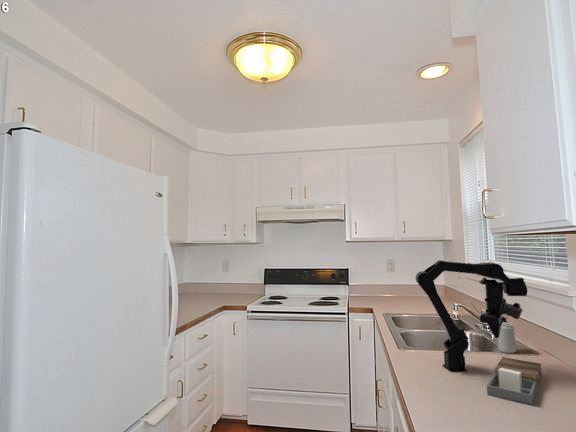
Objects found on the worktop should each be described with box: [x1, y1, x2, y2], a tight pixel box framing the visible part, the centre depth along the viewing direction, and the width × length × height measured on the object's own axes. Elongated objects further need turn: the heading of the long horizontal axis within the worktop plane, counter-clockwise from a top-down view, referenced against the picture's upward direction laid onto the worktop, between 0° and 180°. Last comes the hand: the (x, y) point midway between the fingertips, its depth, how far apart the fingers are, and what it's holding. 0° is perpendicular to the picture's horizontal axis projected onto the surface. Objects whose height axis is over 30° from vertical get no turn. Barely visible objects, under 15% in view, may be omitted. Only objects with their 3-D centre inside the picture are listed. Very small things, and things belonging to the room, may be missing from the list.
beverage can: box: [497, 321, 517, 354], centre depth 153 cm, size 6×6×12 cm
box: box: [486, 373, 537, 406], centre depth 115 cm, size 12×12×3 cm
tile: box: [498, 368, 522, 392], centre depth 116 cm, size 6×6×2 cm
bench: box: [493, 356, 542, 392], centre depth 126 cm, size 16×12×4 cm
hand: (497, 337), depth 133 cm, fingers closed
